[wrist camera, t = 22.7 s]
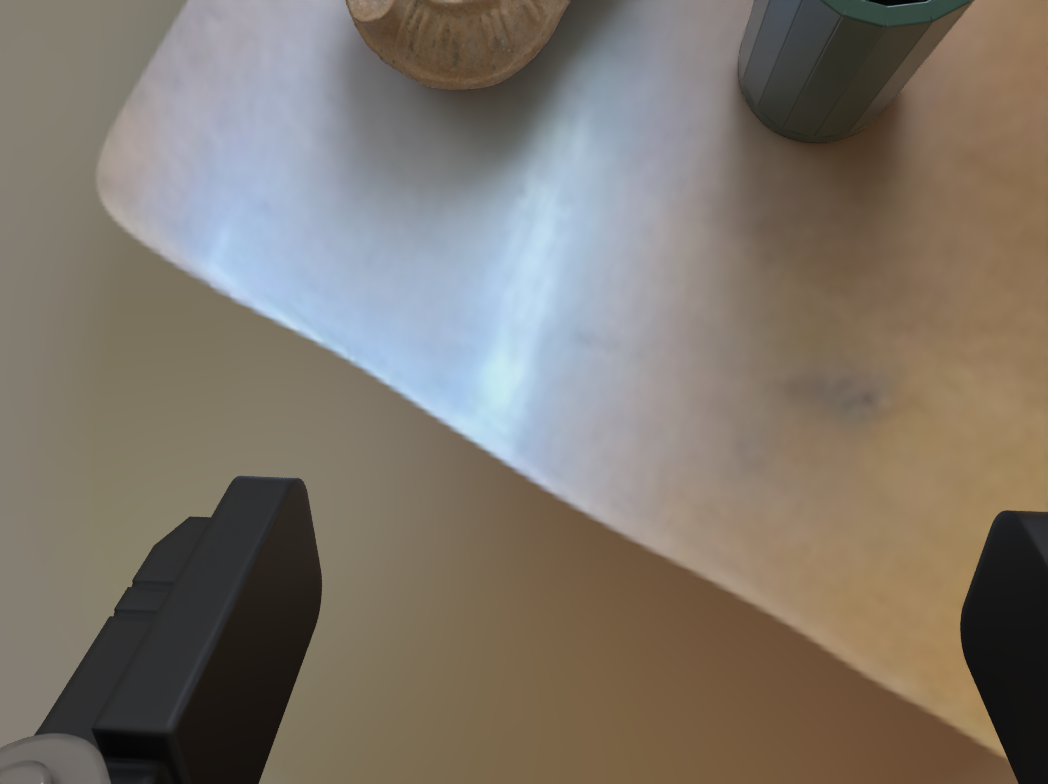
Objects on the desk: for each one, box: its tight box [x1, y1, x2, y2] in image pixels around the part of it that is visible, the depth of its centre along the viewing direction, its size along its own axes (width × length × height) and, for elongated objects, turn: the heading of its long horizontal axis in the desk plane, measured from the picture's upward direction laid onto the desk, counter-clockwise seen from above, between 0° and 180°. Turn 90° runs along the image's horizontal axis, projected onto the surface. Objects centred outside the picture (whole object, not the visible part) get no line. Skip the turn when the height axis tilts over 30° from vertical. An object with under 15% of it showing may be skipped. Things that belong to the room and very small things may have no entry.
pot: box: [738, 0, 975, 143], centre depth 29 cm, size 6×6×10 cm
